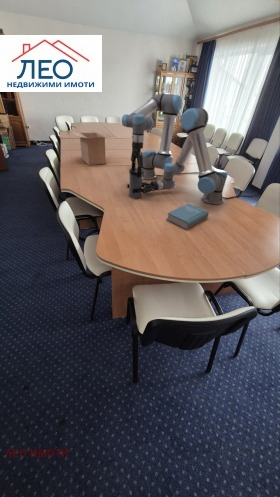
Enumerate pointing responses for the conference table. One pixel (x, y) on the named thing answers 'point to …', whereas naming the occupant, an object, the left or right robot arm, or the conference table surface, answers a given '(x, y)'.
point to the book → (187, 216)
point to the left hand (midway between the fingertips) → (136, 174)
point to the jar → (135, 185)
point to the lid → (134, 171)
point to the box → (92, 146)
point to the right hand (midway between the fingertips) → (129, 188)
